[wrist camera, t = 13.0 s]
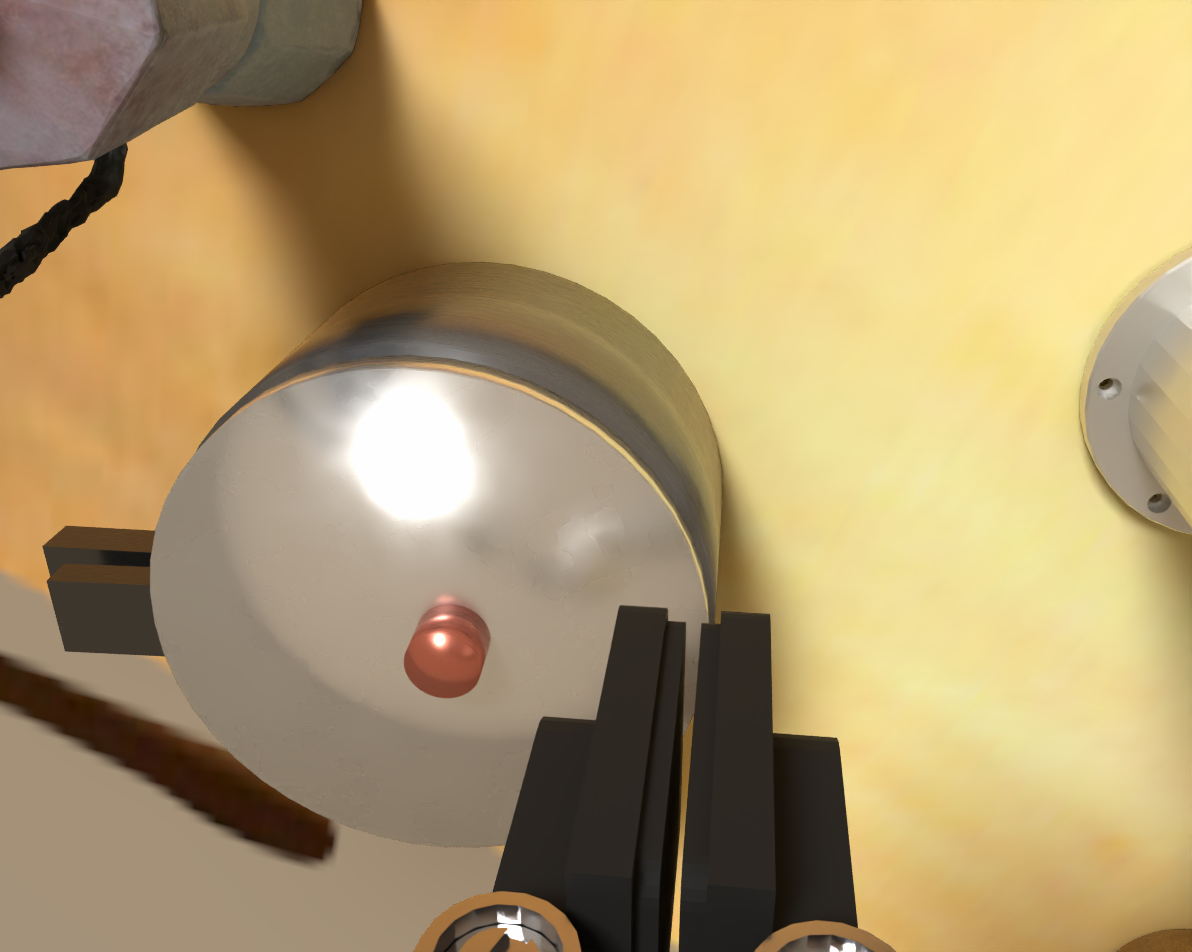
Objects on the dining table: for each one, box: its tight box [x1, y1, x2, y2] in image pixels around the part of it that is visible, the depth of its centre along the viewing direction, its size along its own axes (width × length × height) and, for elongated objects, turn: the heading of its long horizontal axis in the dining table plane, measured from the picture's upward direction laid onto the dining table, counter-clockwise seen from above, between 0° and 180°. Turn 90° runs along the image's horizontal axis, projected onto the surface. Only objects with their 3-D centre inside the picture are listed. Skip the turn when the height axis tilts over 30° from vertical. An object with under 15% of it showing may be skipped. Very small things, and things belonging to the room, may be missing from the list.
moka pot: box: [0, 0, 362, 299], centre depth 33 cm, size 10×15×20 cm, turn 167°
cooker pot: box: [43, 262, 722, 624], centre depth 45 cm, size 25×20×10 cm
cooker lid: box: [47, 355, 709, 848], centre depth 39 cm, size 23×20×3 cm
